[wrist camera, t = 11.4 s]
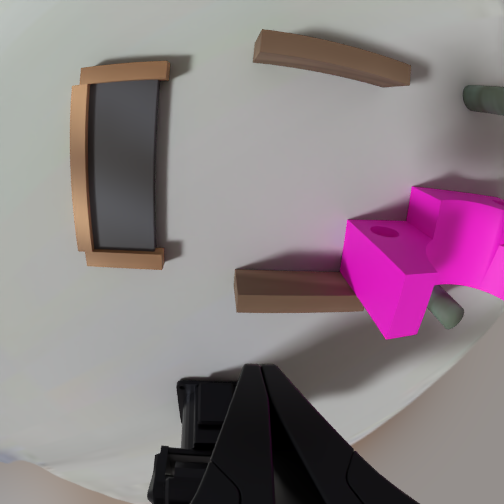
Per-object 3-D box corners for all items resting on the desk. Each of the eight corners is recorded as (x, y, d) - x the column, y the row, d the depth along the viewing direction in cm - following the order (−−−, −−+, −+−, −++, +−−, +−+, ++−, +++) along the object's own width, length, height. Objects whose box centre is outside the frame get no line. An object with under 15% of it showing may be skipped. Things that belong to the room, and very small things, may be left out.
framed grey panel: (432, 300, 23) (457, 327, 19) (92, 296, 20) (73, 332, 16) (480, 90, 16) (518, 93, 12) (86, 25, 12) (56, 8, 8)
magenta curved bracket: (496, 196, 20) (559, 230, 13) (480, 262, 22) (533, 305, 16) (350, 180, 18) (418, 221, 11) (338, 270, 21) (385, 339, 14)
